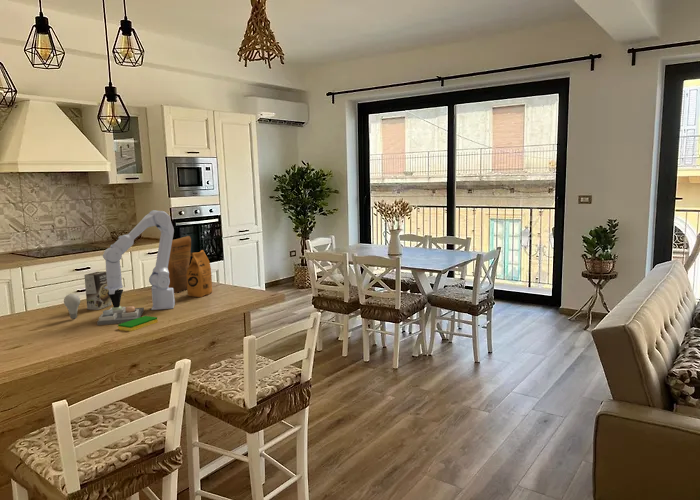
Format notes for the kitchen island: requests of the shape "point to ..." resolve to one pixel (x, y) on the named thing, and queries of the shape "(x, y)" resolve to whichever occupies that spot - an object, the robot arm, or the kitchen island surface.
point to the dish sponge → (137, 323)
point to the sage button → (116, 308)
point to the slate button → (107, 313)
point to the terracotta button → (130, 309)
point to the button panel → (120, 316)
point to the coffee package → (199, 275)
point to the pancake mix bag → (179, 263)
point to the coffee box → (97, 291)
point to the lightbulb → (72, 304)
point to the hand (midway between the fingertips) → (116, 307)
